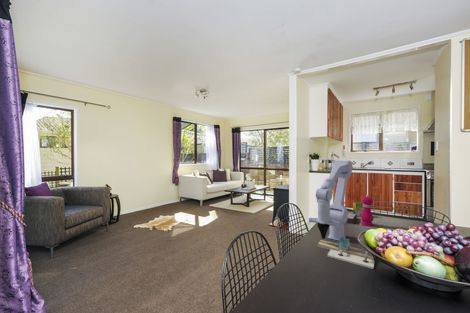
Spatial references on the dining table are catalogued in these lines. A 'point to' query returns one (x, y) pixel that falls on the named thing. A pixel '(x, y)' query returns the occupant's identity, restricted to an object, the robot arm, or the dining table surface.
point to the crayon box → (358, 208)
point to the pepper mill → (367, 211)
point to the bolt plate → (351, 258)
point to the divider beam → (351, 250)
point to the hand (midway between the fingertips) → (323, 238)
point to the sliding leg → (344, 244)
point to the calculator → (351, 218)
